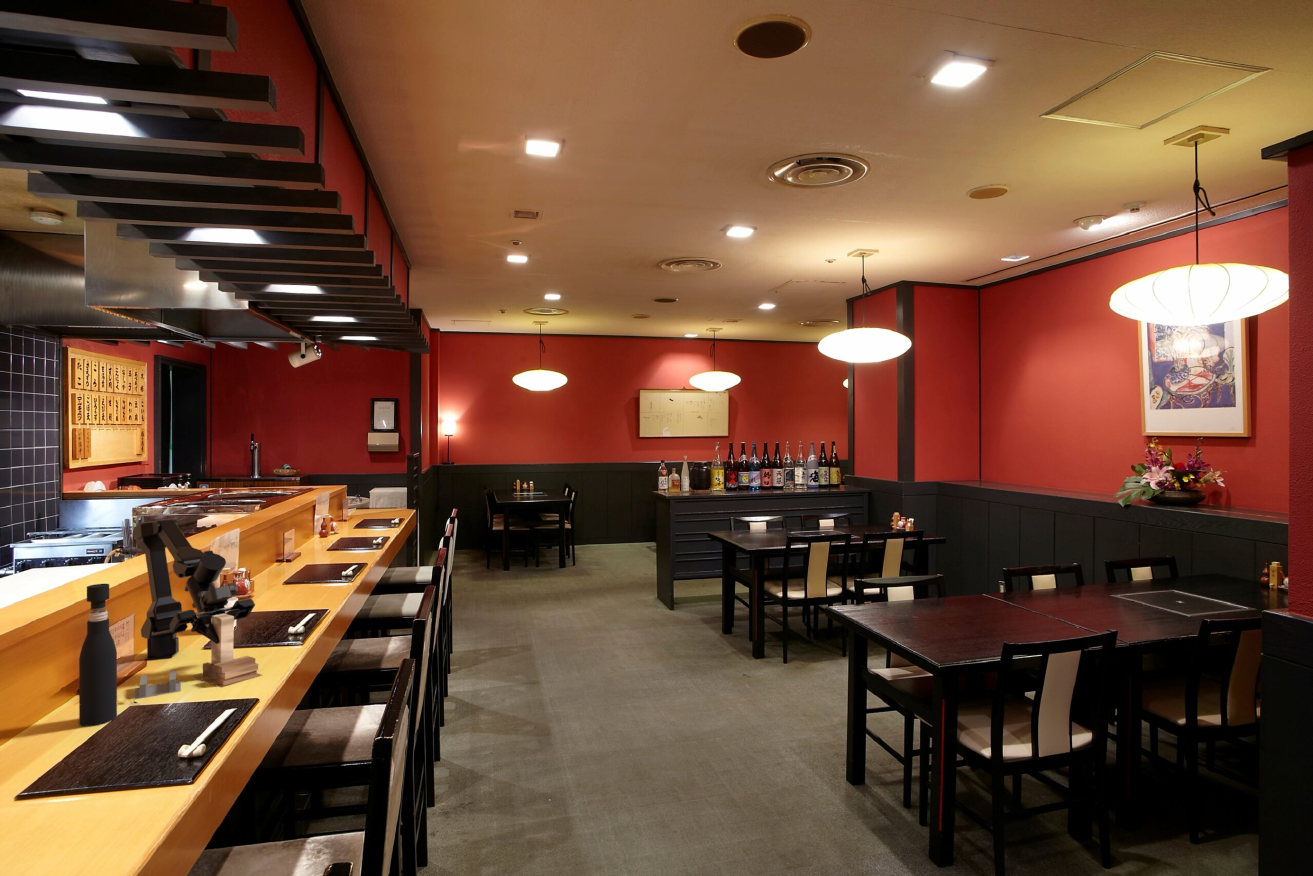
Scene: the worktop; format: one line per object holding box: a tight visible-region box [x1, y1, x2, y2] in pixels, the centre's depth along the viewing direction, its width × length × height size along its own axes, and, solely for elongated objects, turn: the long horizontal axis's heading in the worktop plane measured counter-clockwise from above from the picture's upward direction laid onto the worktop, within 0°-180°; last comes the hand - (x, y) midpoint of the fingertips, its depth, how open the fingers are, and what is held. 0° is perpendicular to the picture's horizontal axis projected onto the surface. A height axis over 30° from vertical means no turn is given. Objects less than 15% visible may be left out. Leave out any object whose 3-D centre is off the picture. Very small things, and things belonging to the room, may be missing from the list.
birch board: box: [210, 614, 235, 664], centre depth 174 cm, size 5×3×13 cm, turn 58°
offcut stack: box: [214, 655, 259, 685], centre depth 171 cm, size 5×8×4 cm, turn 149°
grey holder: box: [133, 669, 182, 704], centre depth 164 cm, size 9×9×4 cm
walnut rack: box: [194, 662, 263, 688], centre depth 173 cm, size 14×10×4 cm
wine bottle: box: [78, 583, 118, 727], centre depth 148 cm, size 6×6×30 cm
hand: (225, 641), depth 174 cm, fingers closed on birch board, 3 cm apart
